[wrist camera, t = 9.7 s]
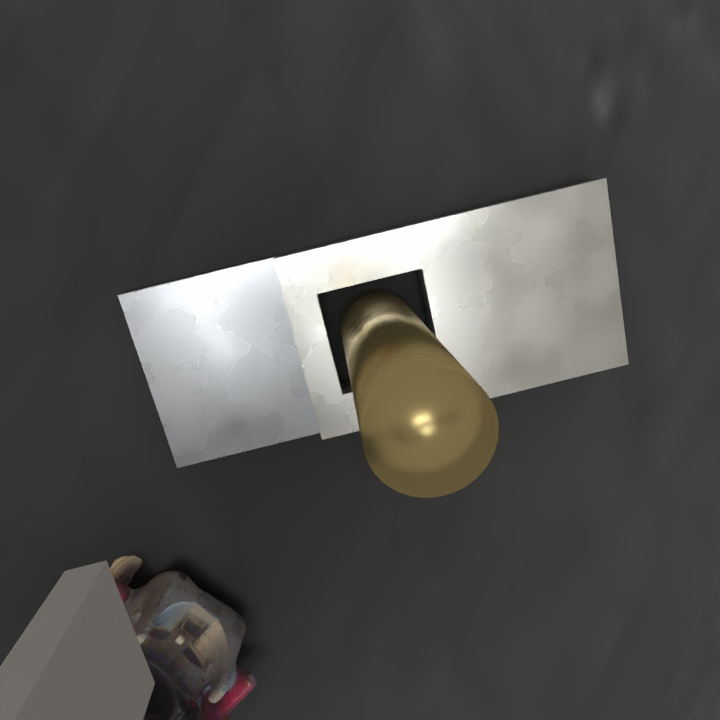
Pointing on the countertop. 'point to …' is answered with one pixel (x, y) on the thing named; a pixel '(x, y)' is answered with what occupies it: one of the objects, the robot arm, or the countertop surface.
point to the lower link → (224, 360)
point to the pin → (414, 400)
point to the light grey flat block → (479, 292)
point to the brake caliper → (185, 645)
